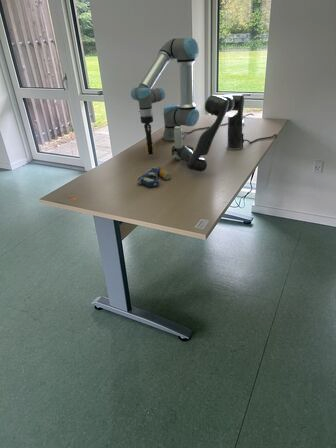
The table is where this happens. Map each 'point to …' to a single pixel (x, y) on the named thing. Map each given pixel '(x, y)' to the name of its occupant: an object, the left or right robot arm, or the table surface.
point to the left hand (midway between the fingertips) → (150, 152)
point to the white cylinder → (178, 139)
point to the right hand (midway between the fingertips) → (177, 146)
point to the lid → (147, 147)
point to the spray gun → (153, 174)
